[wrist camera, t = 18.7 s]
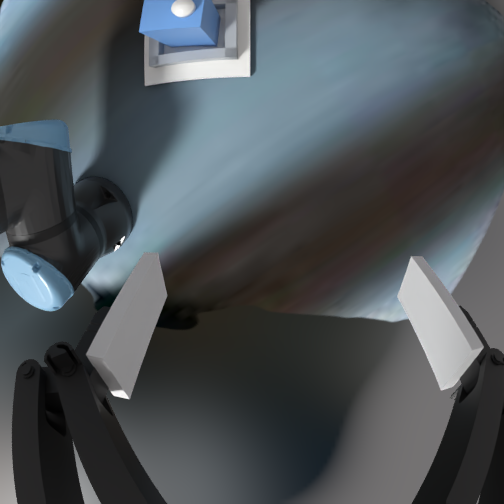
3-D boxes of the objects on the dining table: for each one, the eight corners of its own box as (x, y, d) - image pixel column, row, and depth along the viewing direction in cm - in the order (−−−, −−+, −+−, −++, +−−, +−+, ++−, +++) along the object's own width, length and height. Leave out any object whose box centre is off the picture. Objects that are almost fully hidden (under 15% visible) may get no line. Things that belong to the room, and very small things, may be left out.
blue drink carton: (170, 47, 31) (135, 30, 20) (174, 19, 28) (141, -6, 17) (217, 46, 31) (198, 24, 20) (220, 17, 29) (204, -13, 17)
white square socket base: (147, 85, 35) (138, 85, 32) (148, 1, 27) (140, -5, 24) (250, 76, 34) (249, 74, 32) (250, -12, 26) (249, -20, 23)
